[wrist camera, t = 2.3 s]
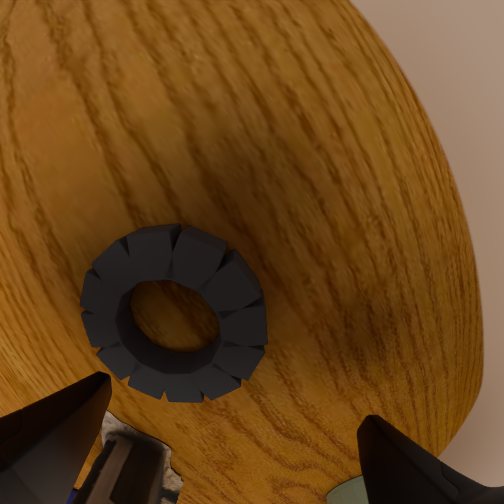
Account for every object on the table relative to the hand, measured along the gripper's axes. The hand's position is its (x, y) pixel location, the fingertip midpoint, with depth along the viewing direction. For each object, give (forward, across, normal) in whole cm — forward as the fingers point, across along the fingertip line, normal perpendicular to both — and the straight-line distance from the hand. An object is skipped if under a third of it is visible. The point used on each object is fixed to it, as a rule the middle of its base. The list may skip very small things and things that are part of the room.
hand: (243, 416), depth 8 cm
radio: (+6, +7, +22) cm, 24 cm away
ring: (+6, +4, 0) cm, 7 cm away
